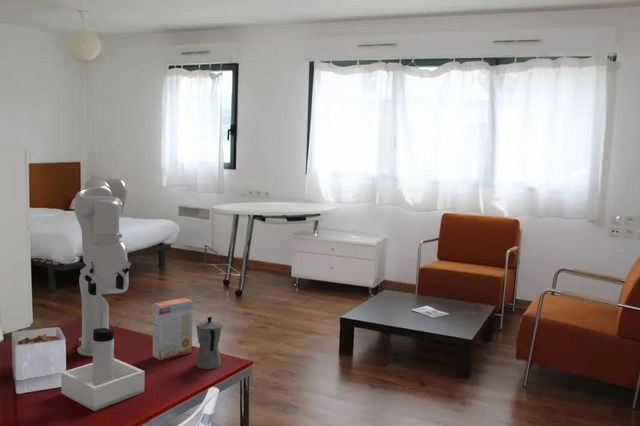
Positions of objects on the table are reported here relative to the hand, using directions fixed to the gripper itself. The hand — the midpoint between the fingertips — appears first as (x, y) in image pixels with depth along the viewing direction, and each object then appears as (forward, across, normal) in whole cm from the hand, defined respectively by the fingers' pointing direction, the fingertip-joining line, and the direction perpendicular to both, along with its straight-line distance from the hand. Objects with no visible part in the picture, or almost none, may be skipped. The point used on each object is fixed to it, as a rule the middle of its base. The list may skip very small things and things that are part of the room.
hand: (106, 291), depth 185 cm
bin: (+32, +2, +2) cm, 33 cm away
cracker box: (+33, -33, -8) cm, 48 cm away
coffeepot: (+33, -36, +10) cm, 49 cm away
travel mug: (+31, +3, +2) cm, 32 cm away
